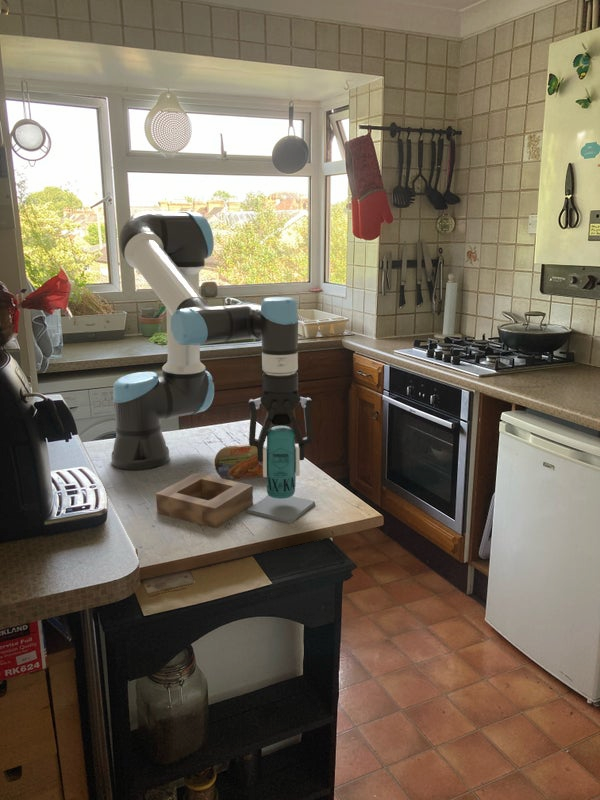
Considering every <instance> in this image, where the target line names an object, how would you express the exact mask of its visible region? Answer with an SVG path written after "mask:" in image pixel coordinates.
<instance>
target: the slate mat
mask: <svg viewBox="0 0 600 800" xmlns="http://www.w3.org/2000/svg"><path fill="white" fill-rule="evenodd" d="M315 505H316V500H311V499H308V498H307V499H306V498H302V497H298V496H295V495H293V496H291V497H288V498H283V499H279V498H273V497H270V496H269V495H268V494H267V496H265V497H264V498H262V499H260V500H259V501H258V502H256V503H253V504H252V505H251V506H249V507H248V508H246V510H247V514H252V515H255V516H258V517H264V518H266V519H271V520H276V521H280V522H283V523H288V524H292V523H293V522H295V521H296V520H297V519H299V517H301V516H302V515H303V514H305V513H306V512H307V511H308V510H310V509H311V508H312V507H314V506H315Z"/></svg>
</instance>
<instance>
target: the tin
mask: <svg viewBox="0 0 600 800" xmlns="http://www.w3.org/2000/svg"><path fill="white" fill-rule="evenodd" d="M266 449H267V445H266ZM214 469H215V471H216V474H218V476H219V478H222V479H226V480H231V481H236V480H243V479H244V480H245V479H251V478H253V479H254V478H261V477H263V462H259V461H258V456H257V447H255V446H250V445H249V443H246V444H239V445H238V444H237V445H227V446H225V447H223V448H221V449H220V450H219V451H218V452H217V453H216V455H215V457H214Z"/></svg>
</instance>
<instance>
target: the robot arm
mask: <svg viewBox="0 0 600 800" xmlns="http://www.w3.org/2000/svg"><path fill="white" fill-rule="evenodd" d="M214 244H215V243H214V234H213V230H212V227H211V225H210V223H209V221H208V220H207V218H206V217H205V216H204V215H203V214H201V213H200V212H195V211H188V210H187V211H186V210H183V211H182V210H181V211H175V210H174V211H170V210H169V211H167V210H166V211H165V210H164V211H163V210H161V211H159V210H158V211H157V210H154V211H153V210H145V211H140V212H139V211H138V213H135V214H133V215H132V216H130V217H129V218H128V219H127V220H125V222H124V223H123V225H122V227H121V229H120V231H119V235H118V246H119V250H120V253H121V255H122V257H123V259H124V260H125V262H126V263H127V264H128V265H129V266H130V267H132V268H133V269H135V270H138V272H139V273H140V274H141V276H142V277H143V278H144V280H145V281H146V283H148V285H149V286H150V288H151V290H153V291H154V294H156V296H157V297H158V298H159V300H160V301H161V303H162V304H163V305H164V307H165V309H166V311H165V312H166V335H167V336H166V345H167V349H166V350H167V351H166V352H167V361H166V363H164V365H163V366H162V367H161V368H162V372H161V373H162V375H160V376H159V375H158V374H157V373H156V372H154V371H142V372H141V371H139V372H132V373H129V374H126V375H123V376H121V377H119V378H118V379H116V380H115V382H114V383H113V387H112V389H113V390H112V391H113V393H112V394H113V396H112V401H113V407H114V418H115V431H116V432H115V433H116V434H115V435H116V436H115V439H114V442H113V443H114V444H113V449H112V452H111V465H113V466H114V467H115V468H118V469H122V470H126V471H127V470H128V471H131V470H132V471H136V470H137V471H138V470H139V471H140V470H148V469H152V468H153V469H154V468H157V467H161V466H163V465H164V464H166V463H168V461H170V450H169V448H168V446H167V445H166V444H167V443H166V440H165V436H164V434H163V433H162V421H161V420H165V419H166V420H167V419H172V418H177V417H183V416H189V415H191V416H192V415H193V416H194V415H196V414H198V413H202V412H205V411H207V410H208V409H209V407H210V406H211V405H212V403H213V401H214V397H215V384H214V382H213V376H212V374H211V373H210V372H209V371H208V370H206V366H205V364H204V363H202V362H201V358H200V357H201V351H200V350H201V349H200V345H207V344H213V343H214V344H215V343H222V342H230V341H240V340H249V339H254V340H259V341H261V365H262V366H261V367H262V368H261V369H262V371H263V373H262V376H261V377H262V379H261V380H262V381H261V382H262V392H261V395H260V397H258V398H255V399H253V398H249V399H248V406H249V410H250V415H249V416H250V417H249V432H248V434H249V435H248V444H249V445H250V446H255V447H257V456H258V461H259V462H263V476H262V477H263V478H267V449H266V446H267V444H265V442H266V440H267V433H268V431H269V430H270V429H271V424H272V420H273V417H274V415H288V416H289V418H290V421H291V423H290V424H291V426H292V430H293V431H294V432H295V439H296V440H297V443H295V456H296V457H295V467H296V468H295V474H296V477H300V471H301V470H300V462H301V461H304V460H305V447H306V446H307V445H311V444H313V443H314V439H313V438H314V437H313V425H312V416H311V409H312V406H313V400H312V399H311V397H309V396H308V397H303V396H301V395H300V394H299V374H298V372H297V371H298V370H299V361H298V359H299V351H298V349H299V344H298V343H299V314H298V302H297V300H296V299H295V298H292V297H289V296H288V297H286V296H285V297H284V296H272V297H270V296H268V297H266V298H263V299H262V300H261V304H260V303H255V302H253V301H238V302H237V303H236V304H230V305H227V304H226V305H217V306H216V305H213V306H210V305H209V304H208V303H207V301H206V300H205V299H204V298H203V297H202V296H201V294H200V272H201V271H202V270H203V269H204V268H205V266H206V264H205V262H206V259H208V258H209V257H211V256H212V254H213V251H214V247H215V245H214ZM299 403H300V405H301V408H302V409H303V417H304V427H305V429H304V430H305V436H304V437H303V435H302V432H301V429H300V427H299V423H298V422H297V421H298V420H297V419H296V416H295V413H294V410H295V408H296V407H297V406H298V405H299ZM261 404H262V405H263V406H264V408H265V409H266V414H265V417H264V421H263V423H262V426H261V429H260V432H259V436H258V438H256V431H257V429H256V428H257V417H258V411H257V410H259V409H260V405H261Z"/></svg>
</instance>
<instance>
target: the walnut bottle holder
mask: <svg viewBox="0 0 600 800" xmlns="http://www.w3.org/2000/svg"><path fill="white" fill-rule="evenodd" d="M253 487H254V486H253V485H252V484H248V483H244V482H240V481H236V480H226V479H224V478H222V477H218V476H212V475H208V474H203V473H198V472H195V473H193V474H190V475H189V476H187V477H185V478H183V479H181V480H180V481H178V482H176V483H173V484H172V485H169V486H168V487H166V488H164V489H161V490H160V491H158V492H155V498H156V499H155V500H156V512H157V513H158V514H162V515H165V516H169V517H172V518H177V519H181V520H183V521H187V522H192V523H195V524H198V525H203V526H205V527H209V528H213V529H217V528H219V527H220V526H222V525H223V524H225V523H227V521H229V520H231V519H232V518H233V517H235V516H237V515H238V514H240V513H241V512H243V511H244V510H247V509H248V508H250V507H251V506H253V505H254V502H253V500H254V496H253V495H254V492H253ZM203 498H204V499H203ZM208 499H209V500H208Z"/></svg>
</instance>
